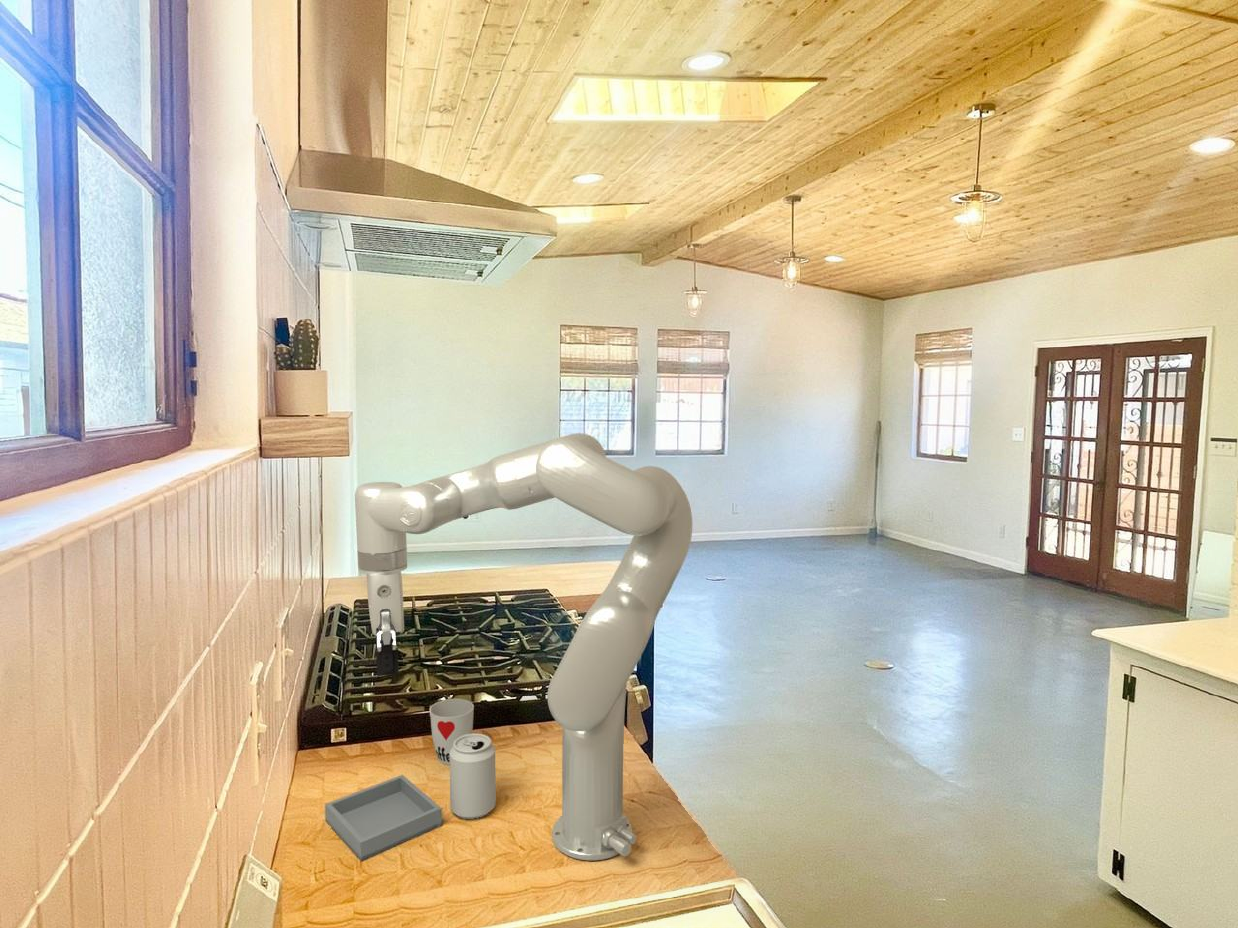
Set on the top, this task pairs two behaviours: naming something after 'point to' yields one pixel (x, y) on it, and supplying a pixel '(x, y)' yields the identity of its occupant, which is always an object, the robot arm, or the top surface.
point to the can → (472, 776)
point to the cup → (450, 724)
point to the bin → (382, 816)
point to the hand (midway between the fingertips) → (387, 662)
